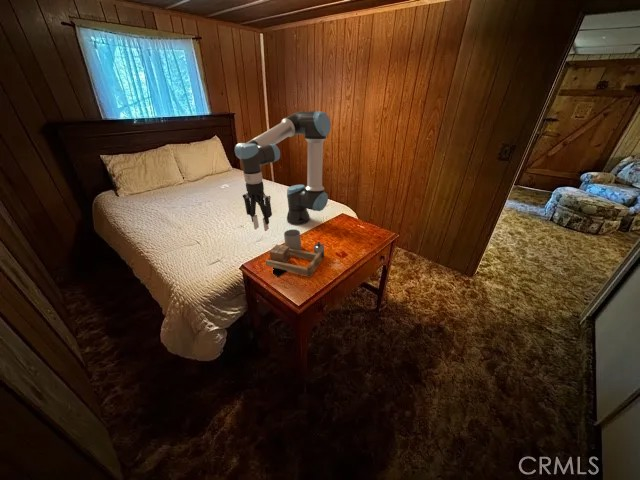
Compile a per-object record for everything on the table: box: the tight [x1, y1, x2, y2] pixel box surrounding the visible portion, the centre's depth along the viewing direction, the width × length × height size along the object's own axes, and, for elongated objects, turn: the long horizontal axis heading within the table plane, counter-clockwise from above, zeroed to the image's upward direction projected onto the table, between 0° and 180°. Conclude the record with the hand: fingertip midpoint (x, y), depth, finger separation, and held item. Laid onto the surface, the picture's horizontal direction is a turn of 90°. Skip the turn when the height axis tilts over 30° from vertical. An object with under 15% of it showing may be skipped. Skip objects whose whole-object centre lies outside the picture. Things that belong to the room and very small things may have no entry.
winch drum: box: [313, 241, 325, 259], centre depth 128 cm, size 5×5×8 cm
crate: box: [269, 244, 291, 264], centre depth 126 cm, size 7×7×7 cm
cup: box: [283, 229, 302, 251], centre depth 135 cm, size 8×8×10 cm
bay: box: [265, 248, 323, 278], centre depth 124 cm, size 14×24×5 cm, turn 69°
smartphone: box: [272, 268, 288, 278], centre depth 123 cm, size 7×1×15 cm
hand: (261, 228), depth 122 cm, fingers open, 5 cm apart
